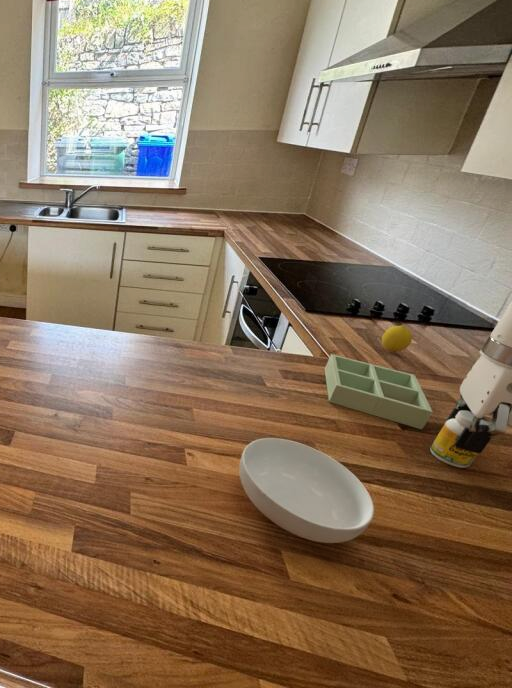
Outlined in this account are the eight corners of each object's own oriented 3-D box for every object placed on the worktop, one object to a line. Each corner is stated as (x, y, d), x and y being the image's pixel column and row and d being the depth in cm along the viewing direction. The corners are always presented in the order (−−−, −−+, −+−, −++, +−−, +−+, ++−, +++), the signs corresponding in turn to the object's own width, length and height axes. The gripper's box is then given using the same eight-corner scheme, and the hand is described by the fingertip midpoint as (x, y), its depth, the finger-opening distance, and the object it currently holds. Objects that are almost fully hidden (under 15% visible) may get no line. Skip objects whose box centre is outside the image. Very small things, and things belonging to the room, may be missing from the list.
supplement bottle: (458, 451, 76) (485, 412, 72) (476, 472, 72) (506, 431, 68) (422, 443, 78) (446, 404, 74) (437, 463, 74) (464, 423, 70)
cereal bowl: (213, 464, 72) (223, 435, 69) (306, 468, 72) (320, 438, 69) (267, 558, 57) (283, 525, 54) (385, 563, 57) (408, 530, 54)
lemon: (386, 355, 107) (399, 329, 104) (372, 345, 112) (384, 320, 109) (409, 358, 107) (423, 331, 103) (394, 347, 111) (407, 322, 108)
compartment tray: (405, 391, 93) (414, 374, 91) (422, 429, 82) (432, 412, 80) (324, 369, 101) (331, 353, 99) (328, 401, 89) (336, 385, 87)
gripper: (582, 389, 57) (510, 480, 65) (528, 339, 70) (473, 420, 78) (505, 371, 61) (446, 459, 68) (467, 327, 74) (421, 405, 81)
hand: (461, 437), depth 73 cm, fingers closed on supplement bottle, 5 cm apart
